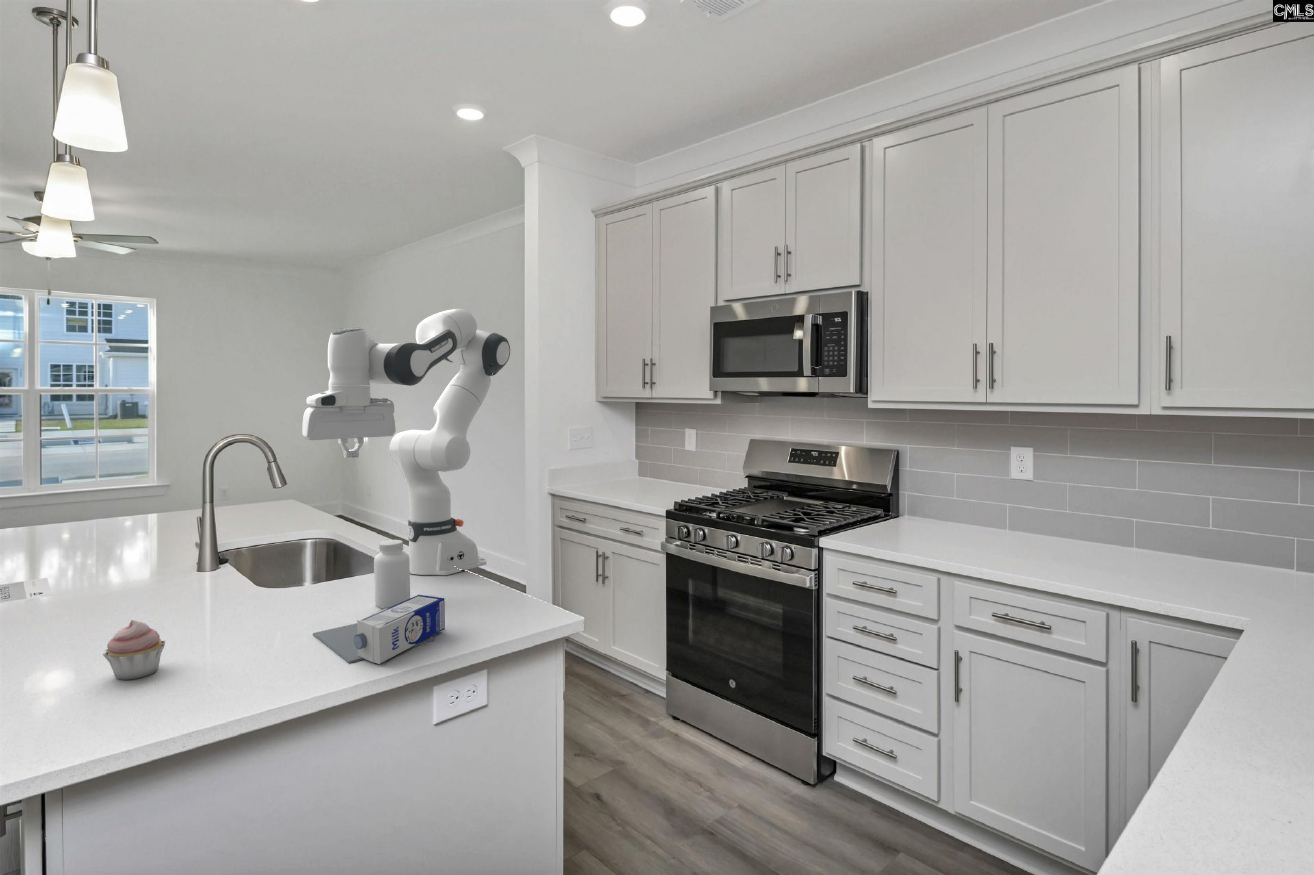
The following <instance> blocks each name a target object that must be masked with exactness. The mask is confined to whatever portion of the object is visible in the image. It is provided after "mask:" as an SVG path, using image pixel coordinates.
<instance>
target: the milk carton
mask: <svg viewBox="0 0 1314 875" xmlns="http://www.w3.org/2000/svg"><path fill="white" fill-rule="evenodd" d="M445 599H446V598H444V597H439V596H438V597H437V596H432V595H431V596H430V595H423V594H417V595H414V596H413V597H410V599H408V600H405V601H403V602H401V603H398V604H396V605H394V606H391V607H389V608H383V610H380V611H378V612H375V613H373V614H371V615H368V616H367V617H363V618H362V619H359V620H358V619H357V621H356V623H357V630H358V634H357V635H355V636H354V644H355V647H356V648H357V649H358V656H360V657H362V658H364V660H367V661H369V662H371V663H375V664H377V665H378V664H379V665H380V664H382V663H384V662H386V661H387V660H389V659H391V658H393V657H396V656H397V655H399V654H401V653H403V652H404V651H406V650H408V649H410V648H413V647H412V646H414V645H416V644H418V643H420V642H422V641H423V640H425V639H427V638H429V637H430V638H431V637H433V636H434V635H436V634H439V633H440V632H442V631H444V630H445V629H446V614H445V612H446V611H445V610H446V609H445V606H446V602H445ZM414 647H415V646H414Z"/></svg>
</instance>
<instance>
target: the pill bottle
mask: <svg viewBox="0 0 1314 875" xmlns="http://www.w3.org/2000/svg"><path fill="white" fill-rule="evenodd" d="M378 550H379V553H378V554H376V555H375V556H374V559H373V573H374V574H373V576H374V578H373V580H374V604H375V606H376V607H377V608H381V609H387V608H389V607H391V606H394V605H396V604H398V603H401V602H403V601H405V600H408V599H410V598H411V573H410V559H409V555H408V552H406V551H404V541H403V540H401V539H387V540H382V541H380V542H379V543H378Z"/></svg>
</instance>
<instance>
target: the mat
mask: <svg viewBox="0 0 1314 875" xmlns="http://www.w3.org/2000/svg"><path fill="white" fill-rule="evenodd" d="M357 634H358V630H357V622H356V623H351V624H347V625H343V626H338V627H334V628H330V629H325V630H321V631H316V632H313V633H312V636H313V637H314V638H316V639H317V640H319V641H320V642H321V643H322V644H323V645H325V646H326V647H327V648H329V649H330V650H331V652H334V654H336V655H338V656H339V657H340V658H341V659H343V660H344V661H345V662H346V663H348V664H353V663H356V662H359V661H363V660H365V659H364V658H362V657H360V656H358V649H357V648H356V647H355V644H354V636H355V635H357ZM433 642H434V639H433V638H431V637H429V638H427V639H425V640H423V641H422V642H420V643H418V644H416V645H414V646H412V647H411V648H413V647H417V646H421V645H425V644H428V643H433Z"/></svg>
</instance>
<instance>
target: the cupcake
mask: <svg viewBox="0 0 1314 875" xmlns="http://www.w3.org/2000/svg"><path fill="white" fill-rule="evenodd" d="M161 639H162V638H160V633H159V632H158V631H157V630H155V629H154V628H151V627H150V626H148V624H147V623H145V622H142V621H139V620H134V619H131V620H130V622H129V624H128V626H125V627H123V628H121V629H119V630H118V631H117V632H116V633H115V634H114V635H113V637H112V638H111V639H110V640H109V641H108V642H107V646H106V648H107V649H104V651H105V652H104V653H103V654H102V656H103V657H104V658H105V660H107V662H108V663H109V665H110V667H111V670H112V672H113V675H114V677H115V678H116V679H117V680H123V681H125V680H135V679H140V678H144V677H147V676H150V675H153V674H155V672H156V671H157V670H158V669H159V667H160V662H161V656H162V653H163V650H164V649H165V645H166V643H167V641H166V640H161Z"/></svg>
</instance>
